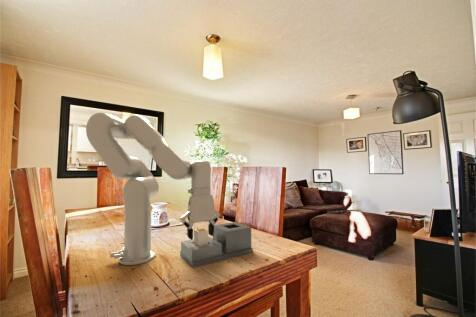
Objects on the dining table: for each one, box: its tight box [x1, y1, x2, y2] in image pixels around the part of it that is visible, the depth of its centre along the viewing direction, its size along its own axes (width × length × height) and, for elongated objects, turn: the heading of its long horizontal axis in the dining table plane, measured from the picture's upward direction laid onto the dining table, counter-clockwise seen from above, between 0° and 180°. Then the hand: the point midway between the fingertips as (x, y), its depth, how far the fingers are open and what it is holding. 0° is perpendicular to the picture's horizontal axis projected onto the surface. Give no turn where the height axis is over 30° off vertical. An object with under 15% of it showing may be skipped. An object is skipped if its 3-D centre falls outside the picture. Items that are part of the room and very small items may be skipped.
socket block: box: [179, 221, 254, 268], centre depth 90 cm, size 26×14×10 cm, turn 122°
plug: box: [193, 227, 209, 246], centre depth 86 cm, size 4×5×10 cm
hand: (200, 236), depth 86 cm, fingers open, 8 cm apart
